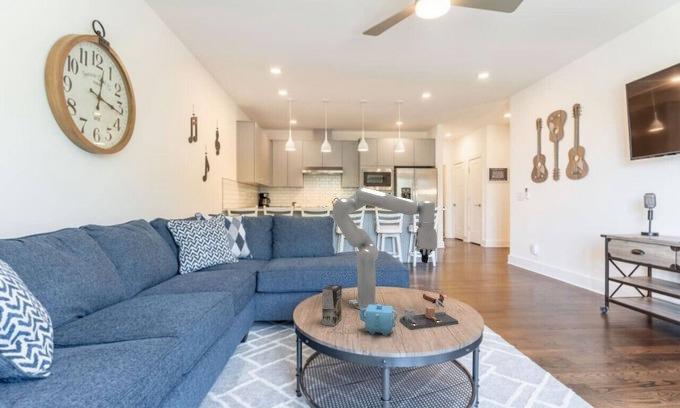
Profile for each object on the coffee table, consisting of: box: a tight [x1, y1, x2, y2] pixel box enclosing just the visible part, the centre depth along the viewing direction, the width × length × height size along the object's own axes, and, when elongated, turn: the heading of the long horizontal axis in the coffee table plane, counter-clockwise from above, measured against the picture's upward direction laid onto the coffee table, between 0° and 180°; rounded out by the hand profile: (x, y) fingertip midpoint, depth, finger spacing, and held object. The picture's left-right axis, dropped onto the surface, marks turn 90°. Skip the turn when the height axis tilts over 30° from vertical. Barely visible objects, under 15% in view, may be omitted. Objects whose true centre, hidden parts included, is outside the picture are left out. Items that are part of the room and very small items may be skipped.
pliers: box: [422, 293, 445, 308], centre depth 172 cm, size 12×20×3 cm, turn 177°
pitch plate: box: [399, 307, 459, 331], centre depth 142 cm, size 24×10×6 cm, turn 106°
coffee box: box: [321, 284, 343, 327], centre depth 143 cm, size 9×6×16 cm
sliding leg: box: [424, 306, 437, 320], centre depth 142 cm, size 3×6×4 cm, turn 16°
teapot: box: [359, 303, 398, 337], centre depth 132 cm, size 16×18×11 cm
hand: (424, 262), depth 155 cm, fingers closed
